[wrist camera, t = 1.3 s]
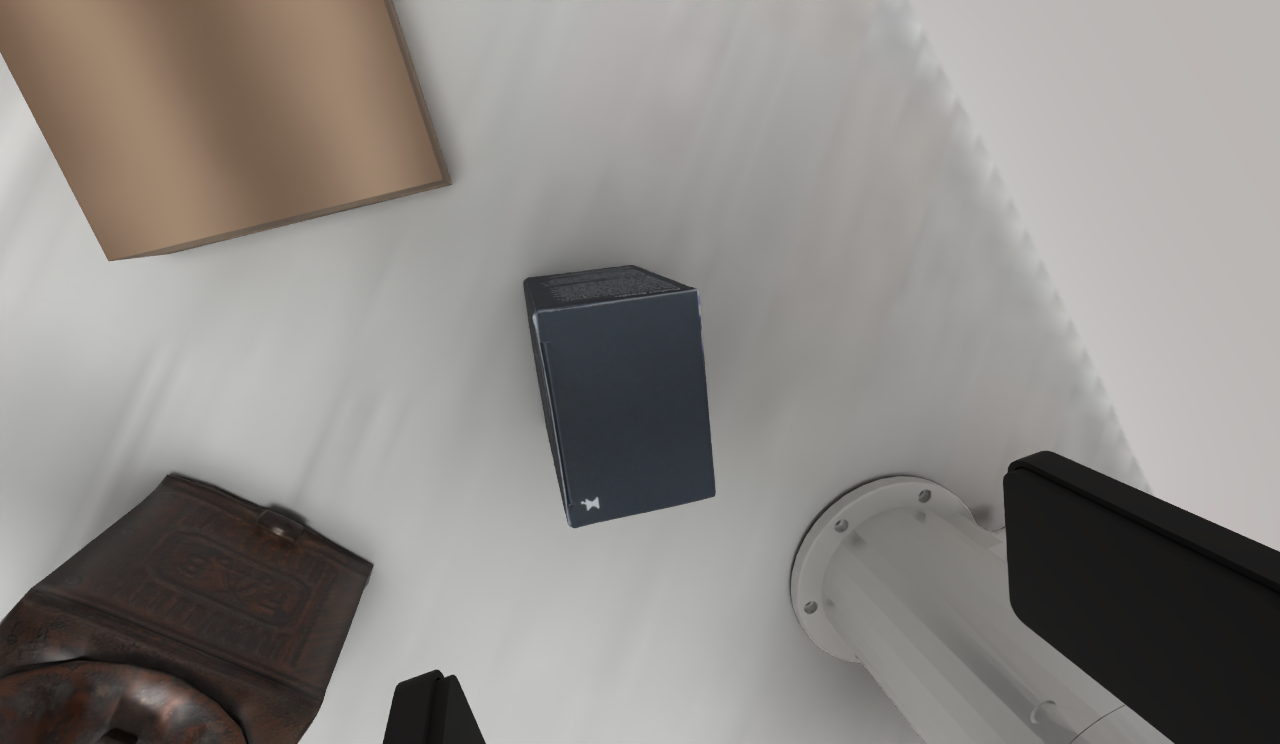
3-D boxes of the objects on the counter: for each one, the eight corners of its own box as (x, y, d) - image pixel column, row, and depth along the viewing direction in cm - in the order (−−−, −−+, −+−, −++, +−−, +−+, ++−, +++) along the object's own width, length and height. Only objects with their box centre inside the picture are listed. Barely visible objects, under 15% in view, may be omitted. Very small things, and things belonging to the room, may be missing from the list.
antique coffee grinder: (389, 556, 30) (240, 992, 13) (270, 718, 31) (-9, 1318, 14) (60, 395, 25) (-843, 765, 8) (-69, 593, 26) (-1121, 1288, 9)
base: (348, -132, 23) (317, -200, 19) (452, 184, 26) (442, 179, 23) (10, -75, 21) (-98, -137, 17) (169, 254, 25) (108, 261, 21)
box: (652, 410, 31) (719, 502, 21) (545, 428, 30) (564, 534, 20) (636, 261, 29) (703, 286, 19) (520, 276, 28) (528, 311, 18)
